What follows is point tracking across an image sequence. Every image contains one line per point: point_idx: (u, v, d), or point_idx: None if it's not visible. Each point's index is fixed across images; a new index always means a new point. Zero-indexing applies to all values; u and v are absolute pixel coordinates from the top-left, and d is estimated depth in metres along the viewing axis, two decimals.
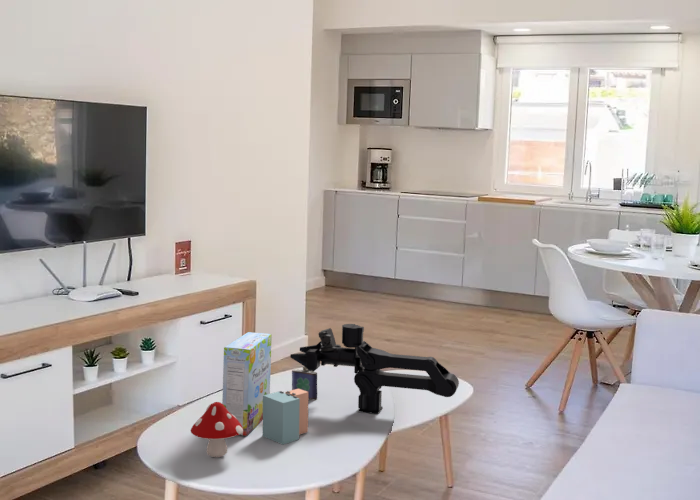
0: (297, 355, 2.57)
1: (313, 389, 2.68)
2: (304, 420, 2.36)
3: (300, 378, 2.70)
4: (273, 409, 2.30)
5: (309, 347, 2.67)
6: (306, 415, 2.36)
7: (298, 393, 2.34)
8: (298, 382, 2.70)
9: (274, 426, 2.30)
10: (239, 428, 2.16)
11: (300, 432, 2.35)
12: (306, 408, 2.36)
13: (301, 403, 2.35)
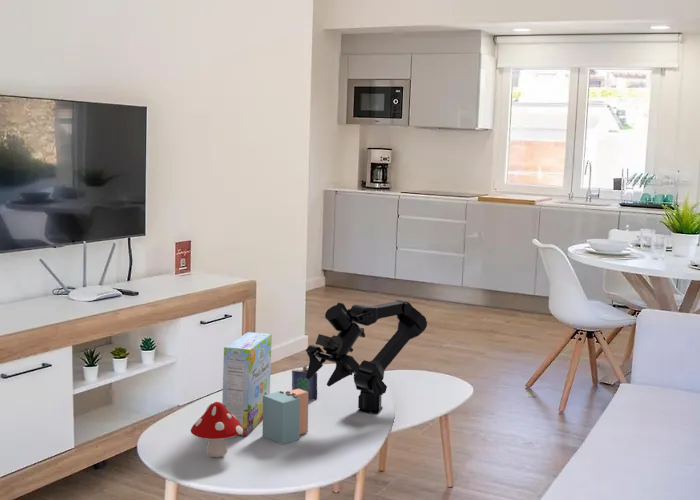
0: (333, 377, 2.38)
1: (313, 389, 2.68)
2: (304, 420, 2.36)
3: (300, 378, 2.70)
4: (273, 409, 2.30)
5: (311, 368, 2.45)
6: (306, 415, 2.36)
7: (298, 393, 2.34)
8: (298, 382, 2.70)
9: (274, 426, 2.30)
10: (239, 428, 2.16)
11: (300, 432, 2.35)
12: (306, 408, 2.36)
13: (301, 403, 2.35)
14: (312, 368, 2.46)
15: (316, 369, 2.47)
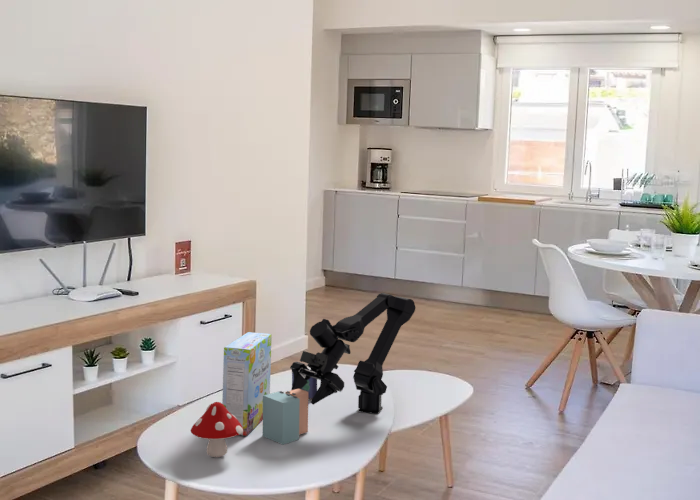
0: (318, 395, 2.34)
1: (313, 389, 2.68)
2: (304, 420, 2.36)
3: None
4: (273, 409, 2.30)
5: (295, 385, 2.42)
6: (306, 415, 2.36)
7: (298, 393, 2.34)
8: None
9: (274, 426, 2.30)
10: (239, 428, 2.16)
11: (300, 432, 2.35)
12: (306, 408, 2.36)
13: (301, 403, 2.35)
14: (296, 385, 2.42)
15: (300, 386, 2.43)
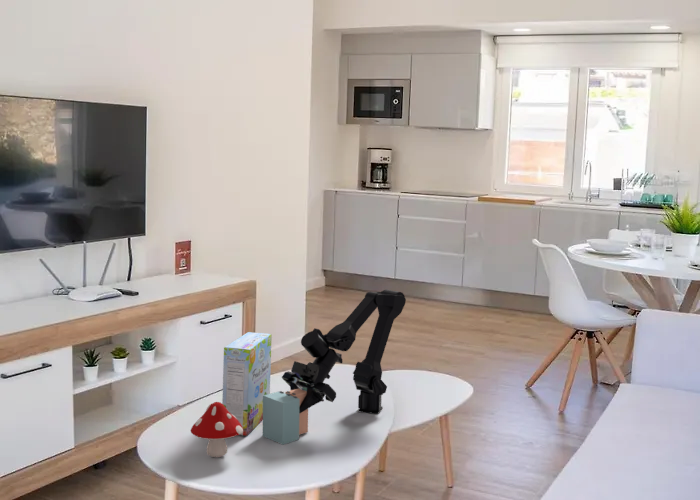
0: (304, 404, 2.34)
1: None
2: (304, 420, 2.36)
3: (300, 378, 2.70)
4: (273, 409, 2.30)
5: None
6: (306, 415, 2.36)
7: (298, 393, 2.34)
8: None
9: (274, 426, 2.30)
10: (239, 428, 2.16)
11: (300, 432, 2.35)
12: None
13: None
14: None
15: None
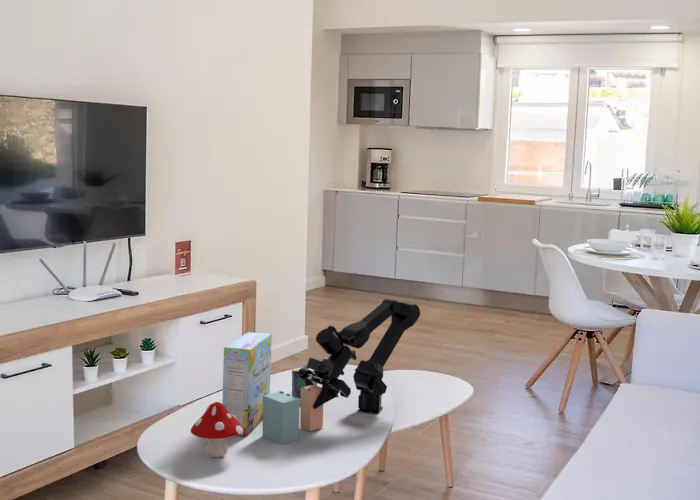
0: (319, 400, 2.38)
1: None
2: (319, 416, 2.40)
3: (300, 378, 2.70)
4: (273, 409, 2.30)
5: None
6: (321, 411, 2.40)
7: (313, 389, 2.38)
8: (298, 382, 2.70)
9: (274, 426, 2.30)
10: (239, 428, 2.16)
11: (315, 427, 2.40)
12: None
13: None
14: None
15: None
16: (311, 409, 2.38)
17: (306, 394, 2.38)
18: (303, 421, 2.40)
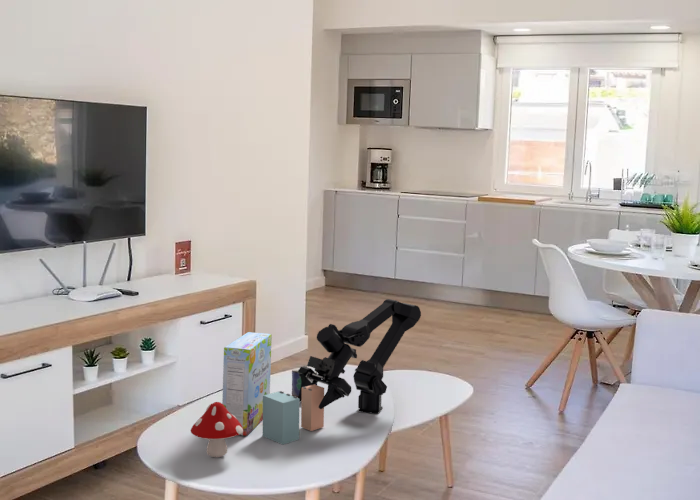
0: (325, 400, 2.36)
1: None
2: (320, 415, 2.41)
3: (300, 378, 2.70)
4: (273, 409, 2.30)
5: None
6: (322, 410, 2.41)
7: (314, 389, 2.39)
8: (298, 382, 2.70)
9: (274, 426, 2.30)
10: (239, 428, 2.16)
11: (316, 427, 2.40)
12: None
13: (317, 399, 2.39)
14: None
15: None
16: (312, 408, 2.38)
17: (307, 394, 2.38)
18: (304, 421, 2.40)
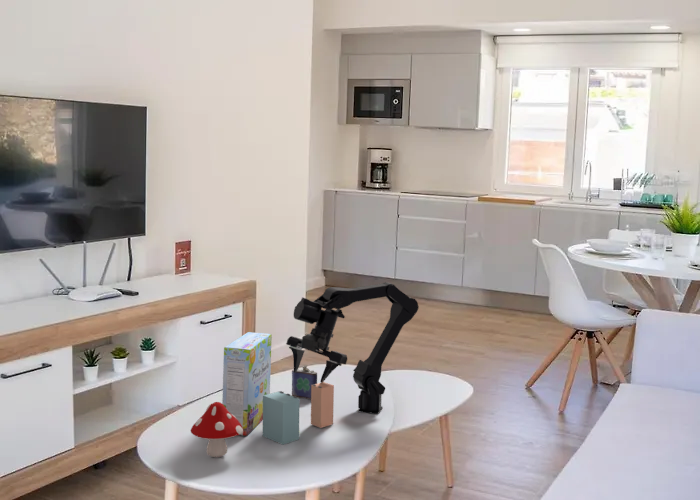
0: (326, 375, 2.44)
1: None
2: (330, 413, 2.43)
3: (300, 378, 2.70)
4: (273, 409, 2.30)
5: (297, 361, 2.48)
6: (331, 408, 2.43)
7: (324, 386, 2.41)
8: (298, 382, 2.70)
9: (274, 426, 2.30)
10: (239, 428, 2.16)
11: (326, 424, 2.42)
12: (331, 401, 2.43)
13: (327, 396, 2.42)
14: (297, 361, 2.49)
15: (300, 358, 2.51)
16: (322, 406, 2.41)
17: (317, 391, 2.41)
18: (313, 418, 2.43)
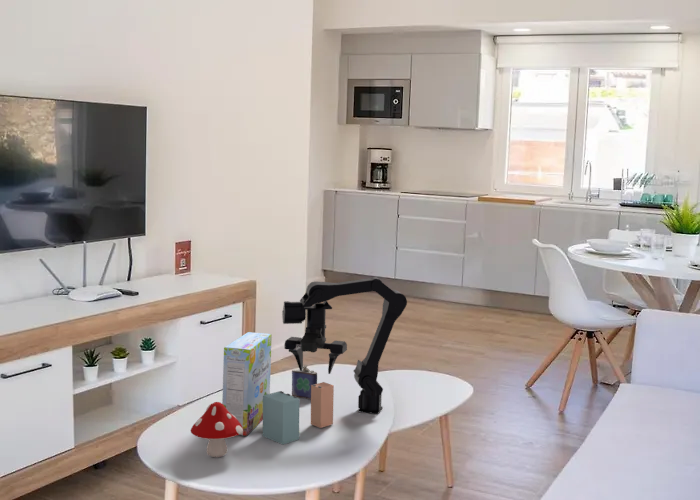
0: (331, 366, 2.51)
1: None
2: (330, 413, 2.43)
3: (300, 378, 2.70)
4: (273, 409, 2.30)
5: (300, 361, 2.54)
6: (331, 408, 2.43)
7: (324, 386, 2.41)
8: (298, 382, 2.70)
9: (274, 426, 2.30)
10: (239, 428, 2.16)
11: (326, 424, 2.42)
12: (331, 401, 2.43)
13: (327, 396, 2.42)
14: (300, 360, 2.54)
15: (301, 356, 2.56)
16: (322, 406, 2.40)
17: (316, 392, 2.41)
18: (313, 418, 2.43)
